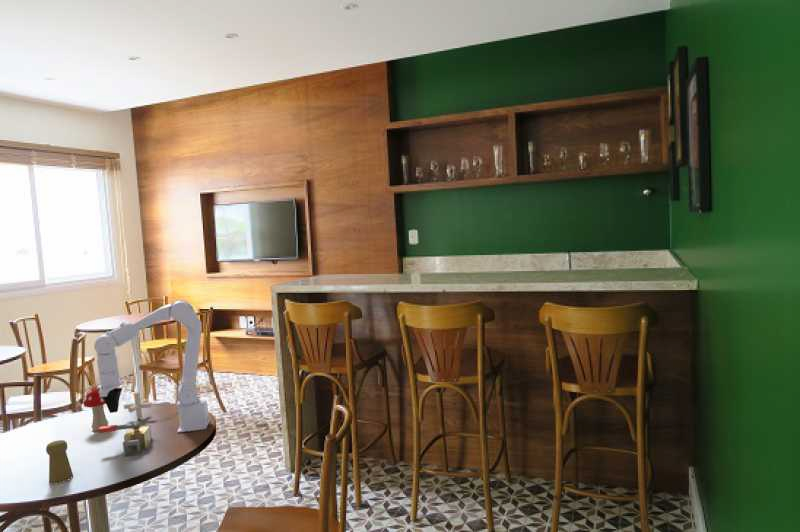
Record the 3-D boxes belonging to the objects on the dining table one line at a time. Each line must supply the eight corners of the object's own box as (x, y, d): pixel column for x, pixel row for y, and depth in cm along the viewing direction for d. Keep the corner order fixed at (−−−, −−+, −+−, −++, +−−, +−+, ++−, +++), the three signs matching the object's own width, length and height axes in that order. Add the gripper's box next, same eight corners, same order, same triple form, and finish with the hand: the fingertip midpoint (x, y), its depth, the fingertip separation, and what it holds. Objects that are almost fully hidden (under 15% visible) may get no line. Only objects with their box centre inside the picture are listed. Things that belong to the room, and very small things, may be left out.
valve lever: (141, 425, 184) (141, 421, 184) (139, 428, 181) (138, 424, 181) (101, 430, 182) (100, 426, 182) (98, 433, 179) (97, 429, 179)
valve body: (154, 437, 190) (152, 419, 190) (142, 454, 176) (139, 434, 176) (135, 440, 189) (133, 421, 189) (121, 456, 176) (119, 437, 175)
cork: (55, 475, 165) (50, 439, 165) (77, 473, 166) (72, 436, 165) (44, 485, 159) (39, 447, 159) (66, 482, 160) (61, 444, 159)
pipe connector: (159, 413, 216) (156, 387, 215) (145, 423, 206) (141, 396, 205) (134, 414, 217) (131, 389, 216) (119, 424, 207) (115, 397, 206)
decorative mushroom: (112, 429, 202) (107, 388, 200) (85, 435, 198) (79, 393, 197) (114, 421, 211) (109, 381, 209) (88, 426, 207) (83, 386, 206)
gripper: (103, 367, 193) (108, 406, 194) (87, 378, 179) (92, 420, 180) (125, 365, 194) (130, 403, 195) (110, 376, 180) (116, 417, 181)
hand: (113, 411), depth 188 cm, fingers closed
